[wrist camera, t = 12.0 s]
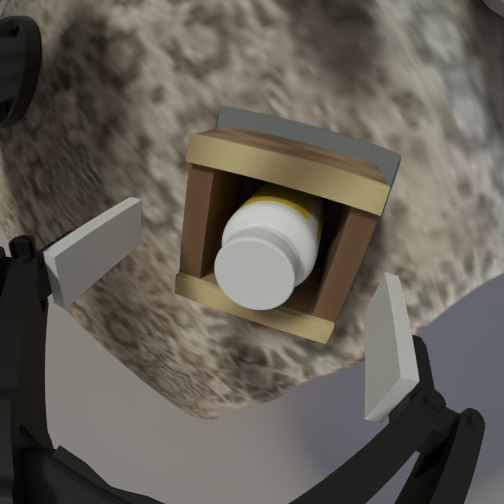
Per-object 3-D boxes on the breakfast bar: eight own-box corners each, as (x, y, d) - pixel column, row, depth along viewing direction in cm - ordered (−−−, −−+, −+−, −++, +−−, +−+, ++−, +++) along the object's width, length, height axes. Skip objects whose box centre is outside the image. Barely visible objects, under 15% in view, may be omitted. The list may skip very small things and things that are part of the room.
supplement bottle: (242, 191, 23) (180, 246, 15) (306, 162, 21) (279, 202, 12) (274, 252, 25) (234, 331, 16) (337, 228, 22) (329, 306, 14)
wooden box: (211, 251, 26) (174, 293, 20) (231, 126, 21) (189, 134, 15) (332, 289, 24) (325, 344, 19) (376, 164, 19) (390, 188, 14)
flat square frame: (199, 257, 27) (198, 259, 27) (222, 106, 21) (220, 106, 20) (343, 303, 25) (343, 306, 25) (399, 154, 19) (400, 155, 18)
